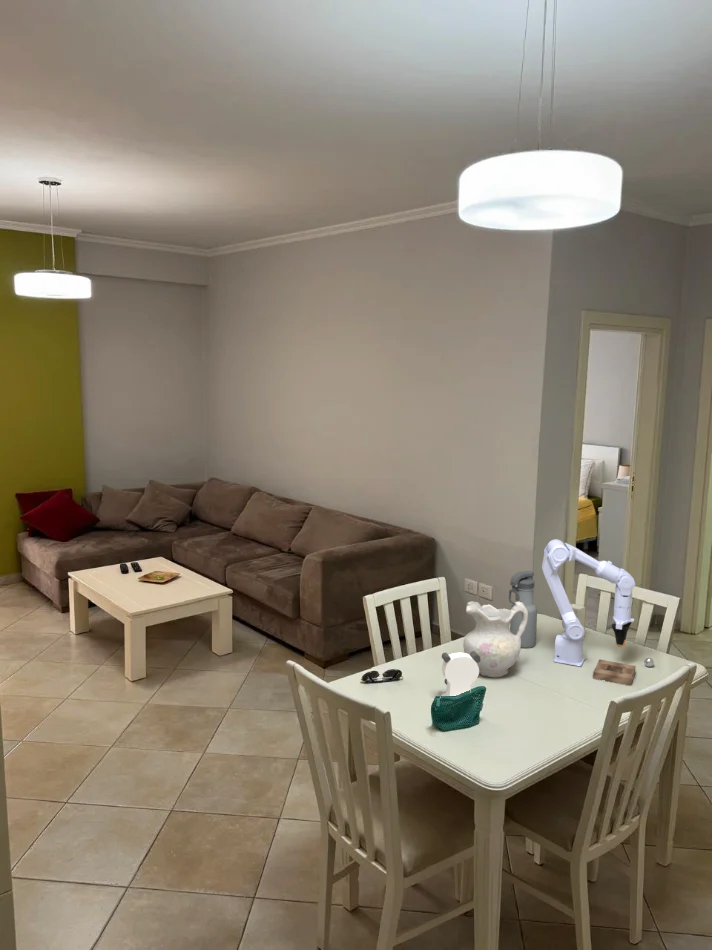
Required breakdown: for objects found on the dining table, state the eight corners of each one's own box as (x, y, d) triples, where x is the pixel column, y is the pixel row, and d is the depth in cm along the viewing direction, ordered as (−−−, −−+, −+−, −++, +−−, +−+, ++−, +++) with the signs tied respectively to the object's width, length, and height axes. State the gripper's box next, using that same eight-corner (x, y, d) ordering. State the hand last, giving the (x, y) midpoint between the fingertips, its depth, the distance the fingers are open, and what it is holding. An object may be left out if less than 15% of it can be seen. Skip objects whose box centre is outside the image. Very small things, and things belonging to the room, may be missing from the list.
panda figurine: (472, 690, 236) (473, 646, 234) (483, 706, 225) (485, 659, 223) (436, 692, 234) (437, 648, 232) (446, 708, 223) (447, 662, 221)
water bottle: (518, 650, 270) (520, 577, 266) (503, 641, 279) (505, 570, 275) (541, 646, 273) (543, 574, 270) (526, 638, 282) (528, 568, 279)
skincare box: (585, 637, 283) (586, 607, 282) (577, 639, 281) (578, 609, 279) (572, 632, 288) (573, 603, 287) (564, 635, 286) (565, 605, 284)
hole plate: (593, 678, 245) (593, 671, 245) (599, 666, 256) (599, 659, 255) (630, 685, 239) (631, 678, 239) (635, 672, 250) (635, 665, 250)
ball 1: (614, 647, 256) (615, 638, 256) (616, 644, 259) (616, 635, 259) (624, 648, 255) (625, 640, 255) (625, 645, 258) (626, 637, 257)
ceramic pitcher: (509, 660, 264) (508, 592, 262) (538, 677, 245) (537, 604, 243) (454, 667, 257) (453, 598, 255) (480, 685, 238) (479, 611, 237)
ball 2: (643, 667, 255) (643, 658, 254) (644, 664, 258) (645, 655, 257) (653, 668, 253) (653, 660, 253) (654, 665, 256) (654, 657, 256)
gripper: (632, 613, 247) (629, 651, 249) (637, 601, 260) (635, 638, 261) (610, 610, 250) (608, 647, 252) (616, 598, 263) (614, 634, 265)
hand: (620, 642), depth 257 cm, fingers closed on ball 1, 3 cm apart
